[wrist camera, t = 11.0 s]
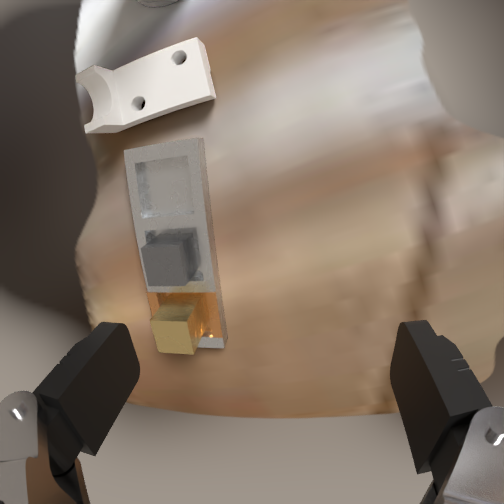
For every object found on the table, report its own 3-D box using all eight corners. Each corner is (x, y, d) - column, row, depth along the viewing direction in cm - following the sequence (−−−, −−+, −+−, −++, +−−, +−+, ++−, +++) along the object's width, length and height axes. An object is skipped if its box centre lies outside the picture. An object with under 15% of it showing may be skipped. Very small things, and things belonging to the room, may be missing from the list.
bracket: (120, 132, 34) (85, 133, 27) (110, 83, 32) (75, 75, 25) (218, 99, 32) (199, 88, 25) (205, 46, 30) (184, 25, 23)
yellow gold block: (168, 294, 39) (149, 320, 33) (201, 294, 39) (186, 321, 33) (175, 324, 41) (158, 352, 35) (207, 324, 40) (194, 354, 34)
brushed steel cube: (158, 234, 37) (140, 248, 32) (192, 232, 36) (178, 246, 32) (164, 269, 38) (148, 286, 34) (198, 268, 38) (185, 286, 33)
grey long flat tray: (132, 149, 35) (121, 150, 32) (203, 138, 33) (197, 137, 31) (166, 335, 43) (159, 345, 41) (227, 337, 42) (224, 348, 39)
